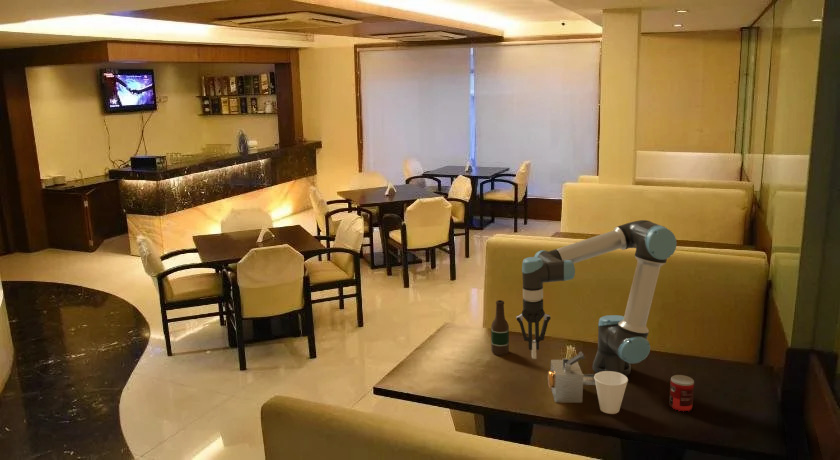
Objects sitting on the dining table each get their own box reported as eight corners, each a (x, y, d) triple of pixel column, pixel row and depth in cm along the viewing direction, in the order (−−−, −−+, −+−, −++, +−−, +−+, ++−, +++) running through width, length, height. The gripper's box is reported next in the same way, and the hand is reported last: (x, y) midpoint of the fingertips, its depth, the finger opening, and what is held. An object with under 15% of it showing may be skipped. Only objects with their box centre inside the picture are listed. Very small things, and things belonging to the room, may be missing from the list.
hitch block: (576, 385, 262) (576, 354, 259) (582, 402, 248) (583, 369, 245) (550, 385, 263) (551, 354, 260) (555, 402, 249) (556, 369, 246)
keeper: (583, 353, 254) (581, 350, 254) (585, 358, 249) (583, 355, 249) (565, 364, 255) (563, 362, 255) (567, 369, 251) (564, 366, 251)
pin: (593, 383, 257) (594, 368, 256) (596, 391, 251) (597, 375, 250) (547, 383, 258) (547, 368, 257) (549, 390, 252) (550, 375, 251)
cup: (633, 411, 241) (635, 380, 238) (609, 420, 235) (611, 388, 232) (609, 398, 251) (610, 368, 248) (586, 406, 245) (587, 375, 242)
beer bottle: (508, 356, 291) (508, 304, 286) (490, 355, 293) (490, 303, 288) (509, 349, 299) (509, 298, 294) (492, 348, 300) (491, 297, 295)
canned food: (673, 400, 248) (674, 372, 246) (695, 406, 243) (697, 378, 241) (665, 408, 243) (667, 380, 240) (688, 414, 238) (690, 386, 235)
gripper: (549, 294, 251) (549, 352, 256) (514, 295, 252) (515, 353, 257) (551, 301, 244) (552, 361, 249) (516, 302, 245) (517, 361, 250)
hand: (533, 357), depth 253 cm, fingers closed
